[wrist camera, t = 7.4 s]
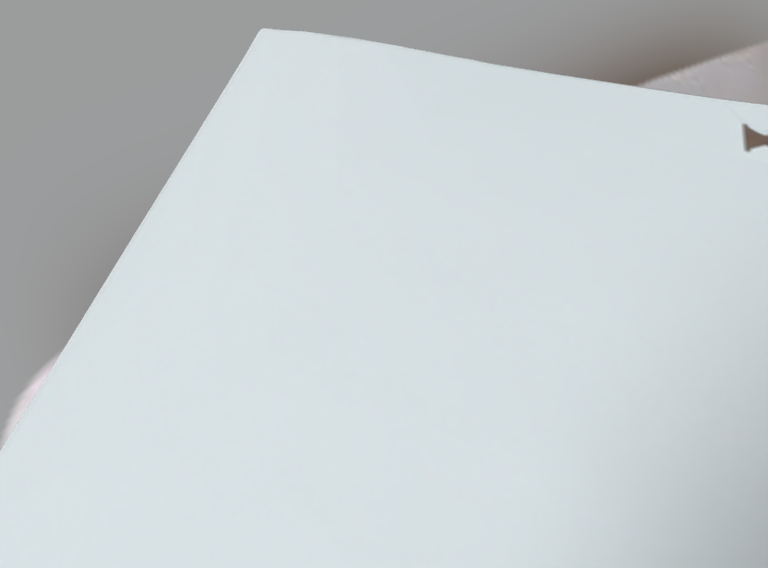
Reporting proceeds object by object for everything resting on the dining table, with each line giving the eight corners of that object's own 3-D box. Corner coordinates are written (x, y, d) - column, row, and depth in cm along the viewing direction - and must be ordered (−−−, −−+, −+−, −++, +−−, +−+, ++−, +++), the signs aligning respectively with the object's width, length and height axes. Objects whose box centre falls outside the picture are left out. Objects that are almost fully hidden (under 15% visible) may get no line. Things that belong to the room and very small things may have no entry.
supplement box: (340, 364, 22) (255, 2, 9) (573, 425, 20) (865, 95, 8) (249, 626, 17) (-174, 641, 5) (538, 728, 16) (1101, 1167, 3)
